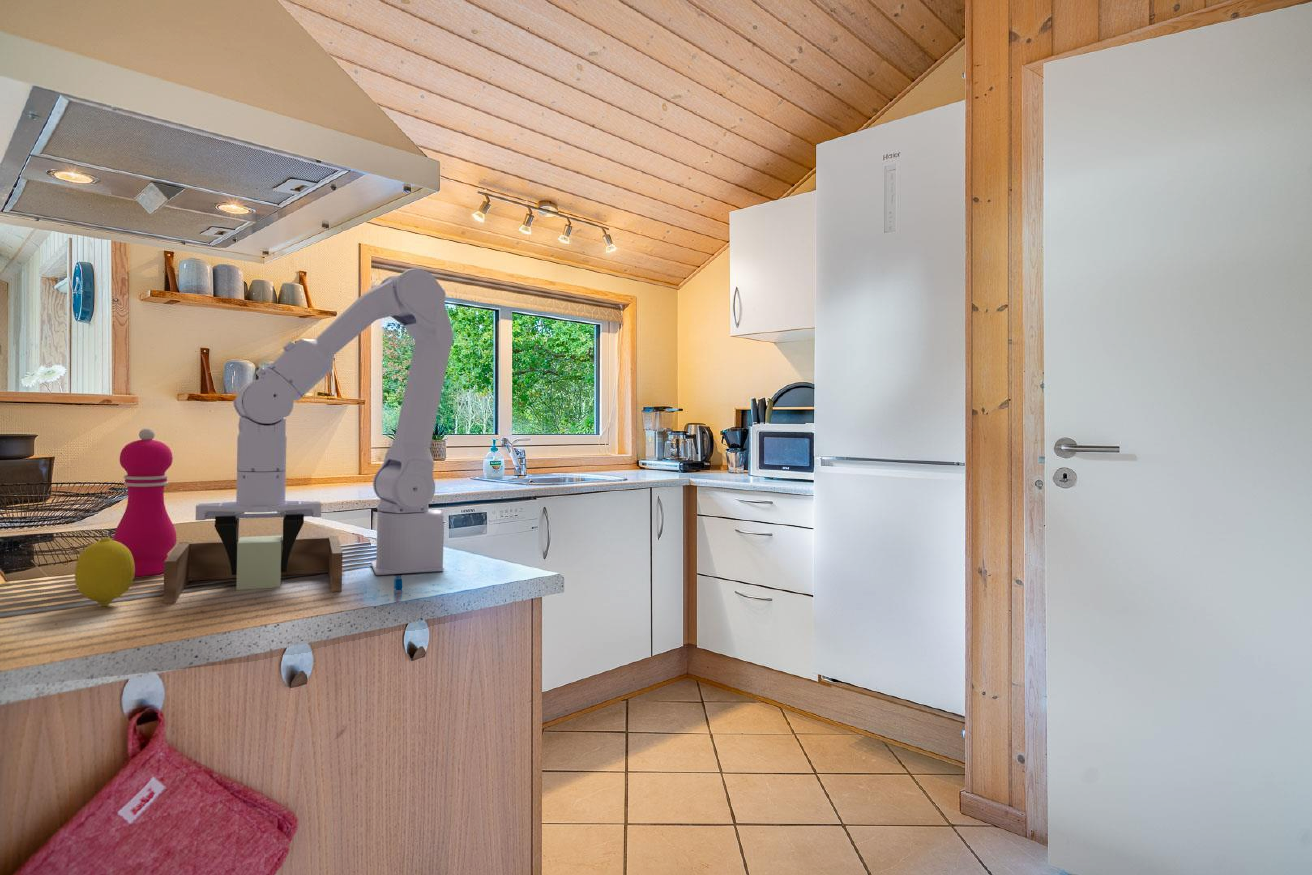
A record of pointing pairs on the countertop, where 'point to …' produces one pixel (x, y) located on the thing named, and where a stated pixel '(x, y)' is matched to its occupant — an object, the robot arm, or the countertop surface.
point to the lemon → (104, 571)
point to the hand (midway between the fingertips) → (259, 571)
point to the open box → (214, 564)
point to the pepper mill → (146, 504)
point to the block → (259, 562)
